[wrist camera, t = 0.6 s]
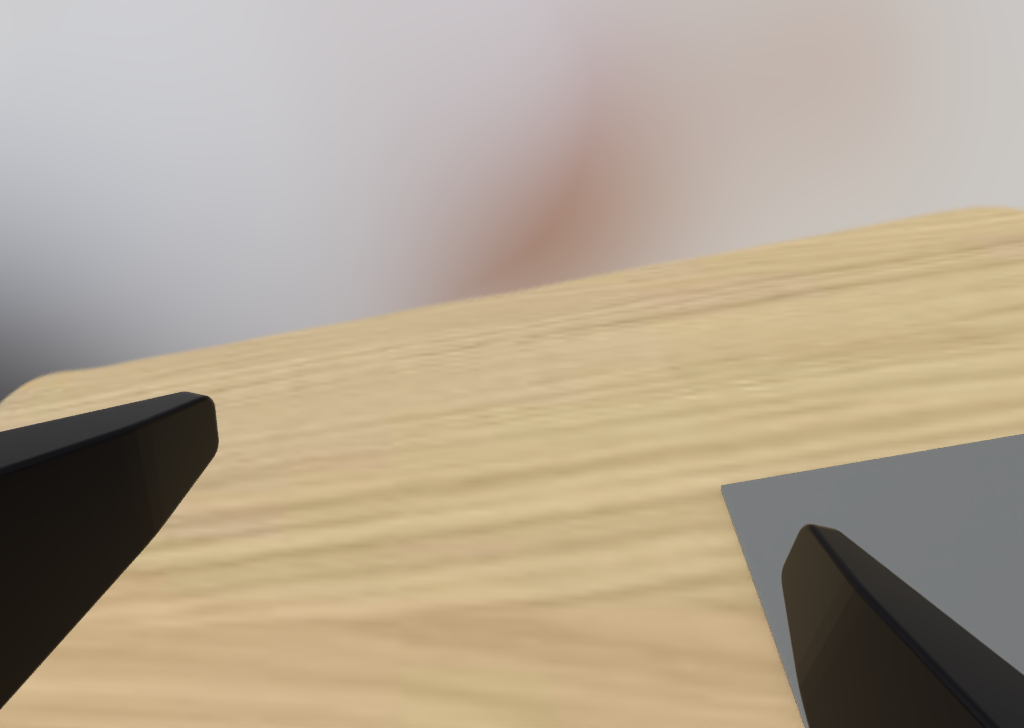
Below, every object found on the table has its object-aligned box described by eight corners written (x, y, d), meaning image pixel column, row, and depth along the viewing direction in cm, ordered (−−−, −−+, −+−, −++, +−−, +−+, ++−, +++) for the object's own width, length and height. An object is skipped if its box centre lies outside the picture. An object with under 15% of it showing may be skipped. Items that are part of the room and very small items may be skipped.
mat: (1547, 929, 10) (1568, 930, 10) (884, 952, 12) (888, 954, 12) (1074, 430, 19) (1080, 424, 18) (721, 490, 21) (721, 485, 20)
